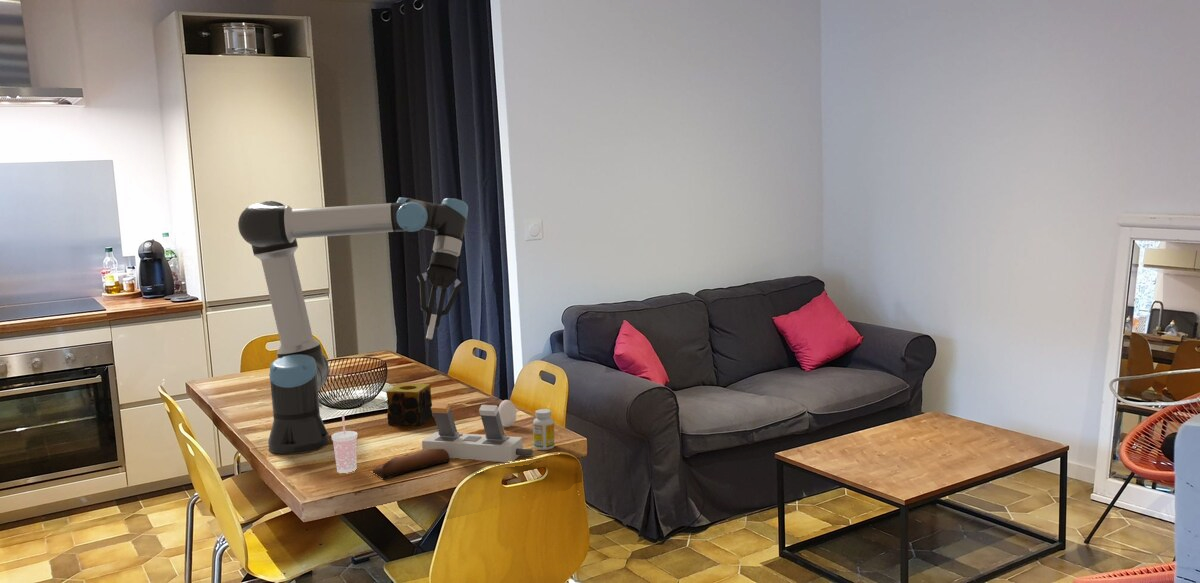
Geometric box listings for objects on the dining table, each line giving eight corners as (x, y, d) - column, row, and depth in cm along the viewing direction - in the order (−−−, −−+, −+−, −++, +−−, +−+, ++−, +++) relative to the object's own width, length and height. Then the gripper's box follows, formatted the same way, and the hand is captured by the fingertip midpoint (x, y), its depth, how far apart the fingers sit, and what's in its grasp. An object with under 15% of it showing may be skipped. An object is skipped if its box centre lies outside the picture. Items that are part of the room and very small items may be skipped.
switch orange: (441, 432, 232) (431, 402, 227) (460, 433, 231) (450, 403, 225) (438, 437, 230) (428, 407, 225) (456, 438, 229) (447, 408, 224)
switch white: (488, 435, 228) (479, 404, 223) (507, 436, 227) (499, 405, 222) (485, 440, 227) (476, 410, 221) (504, 442, 225) (496, 411, 220)
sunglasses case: (432, 454, 229) (438, 435, 226) (445, 474, 225) (452, 455, 222) (367, 471, 218) (372, 452, 214) (379, 492, 214) (385, 473, 210)
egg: (509, 430, 249) (507, 403, 248) (493, 427, 252) (492, 401, 251) (520, 425, 253) (519, 398, 252) (505, 423, 256) (504, 396, 255)
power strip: (422, 456, 229) (421, 440, 228) (437, 446, 236) (436, 431, 236) (526, 463, 221) (525, 447, 220) (537, 453, 228) (537, 437, 228)
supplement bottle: (534, 450, 231) (532, 414, 229) (533, 444, 236) (532, 408, 234) (555, 449, 231) (553, 413, 230) (554, 443, 236) (552, 407, 235)
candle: (420, 426, 255) (418, 392, 254) (387, 425, 257) (384, 391, 256) (433, 416, 265) (432, 383, 264) (401, 415, 267) (399, 382, 266)
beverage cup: (330, 469, 220) (326, 413, 218) (355, 464, 224) (351, 409, 222) (337, 476, 215) (333, 419, 213) (363, 471, 218) (359, 415, 216)
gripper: (467, 261, 254) (451, 344, 249) (420, 252, 251) (403, 335, 246) (471, 257, 247) (454, 341, 242) (423, 246, 244) (406, 332, 239)
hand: (429, 338), depth 244 cm, fingers closed
